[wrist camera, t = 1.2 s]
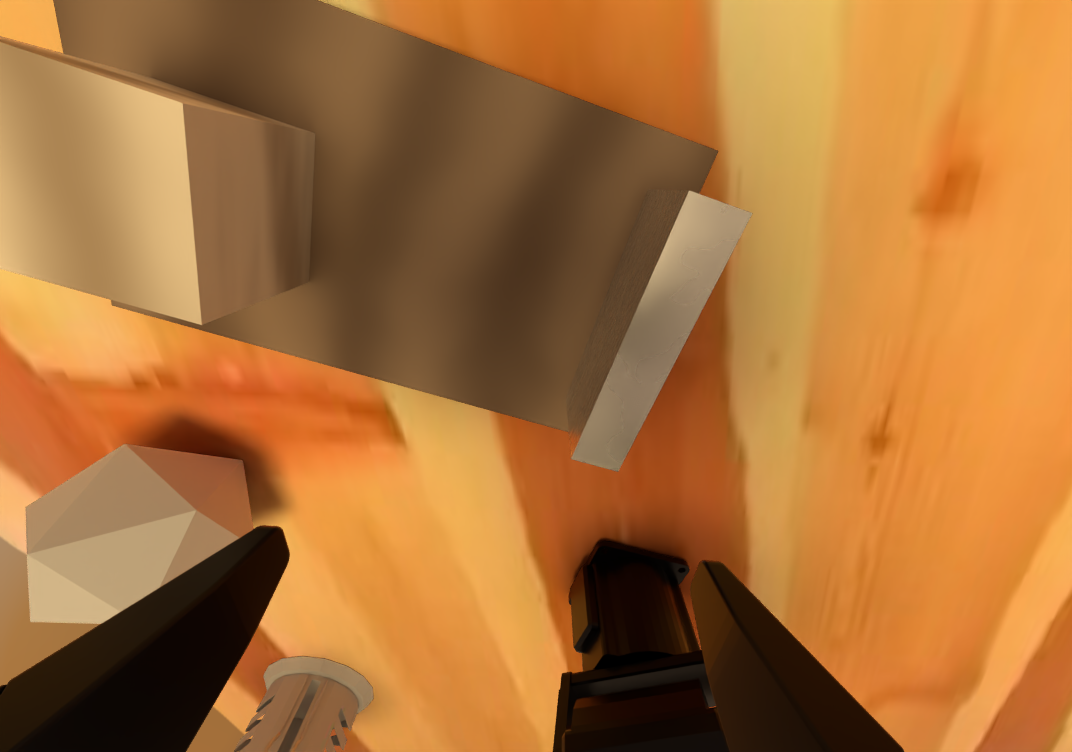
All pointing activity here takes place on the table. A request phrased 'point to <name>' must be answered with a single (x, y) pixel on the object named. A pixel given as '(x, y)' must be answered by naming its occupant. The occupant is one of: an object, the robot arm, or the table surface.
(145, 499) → the die
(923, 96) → the table surface
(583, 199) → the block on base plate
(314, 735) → the french press
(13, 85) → the cube
